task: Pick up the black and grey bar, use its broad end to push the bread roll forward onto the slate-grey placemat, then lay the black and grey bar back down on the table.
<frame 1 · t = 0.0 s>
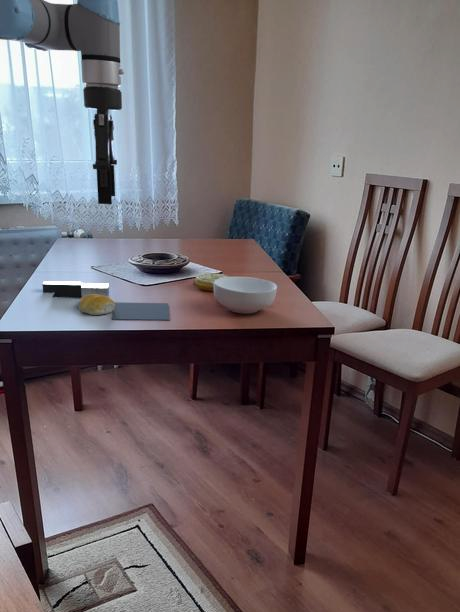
hand: (107, 199, 120), 28 cm above the table, tool pointing down, fingers open, 13 cm apart
placemat: (141, 311, 142), on the table
bread roll: (97, 311, 140), on the table, touching placemat
cereal bowl: (243, 310, 148), on the table
black and grey bar: (67, 295, 150), on the table
decorated donut: (213, 288, 166), on the table
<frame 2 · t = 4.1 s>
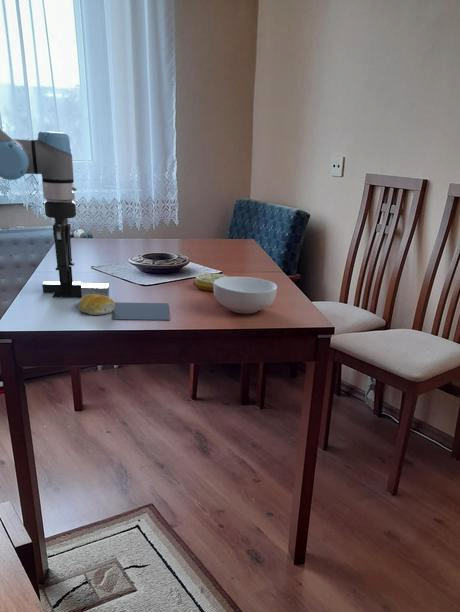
hand: (67, 292, 150), 1 cm above the table, tool pointing down, fingers closed on black and grey bar, 3 cm apart
black and grey bar: (67, 295, 150), on the table, touching gripper
everything else where it was.
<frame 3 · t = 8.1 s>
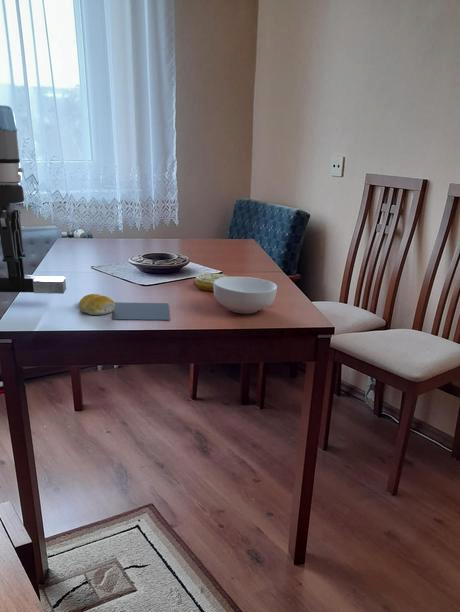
hand: (17, 286, 135), 6 cm above the table, tool pointing down, fingers closed on black and grey bar, 3 cm apart
black and grey bar: (18, 290, 135), point 5 cm above the table, touching gripper
everything else where it was.
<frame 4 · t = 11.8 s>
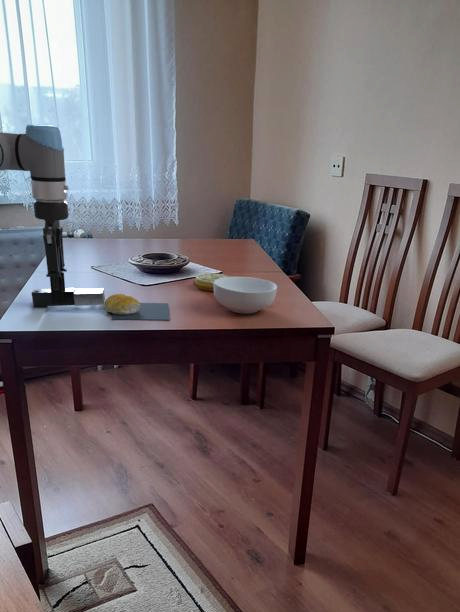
hand: (59, 300, 137), 3 cm above the table, tool pointing down, fingers closed on black and grey bar, 3 cm apart
bread roll: (122, 311, 141), resting on placemat, touching black and grey bar
black and grey bar: (59, 304, 138), point 2 cm above the table, touching bread roll, gripper
everything else where it was.
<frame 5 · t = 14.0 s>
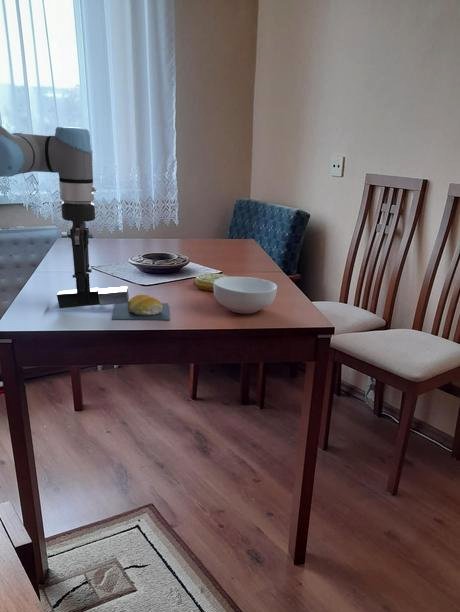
hand: (84, 301, 138), 3 cm above the table, tool pointing down, fingers closed on black and grey bar, 3 cm apart
bread roll: (145, 312, 141), resting on placemat, touching black and grey bar
black and grey bar: (84, 304, 139), point 2 cm above the table, tilted 6°, touching bread roll, gripper
everything else where it was.
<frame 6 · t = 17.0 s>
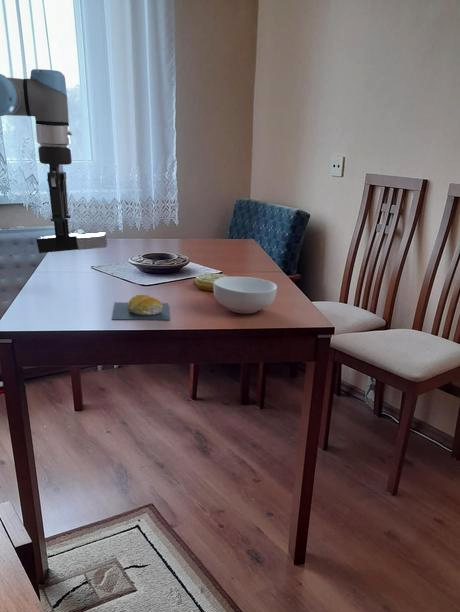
hand: (63, 246, 142), 14 cm above the table, tool pointing down, fingers closed on black and grey bar, 3 cm apart
bread roll: (145, 312, 141), resting on placemat
black and grey bar: (63, 249, 143), point 13 cm above the table, tilted 7°, touching gripper
everything else where it was.
when the fingers open (1 cm above the table, at t = 19.5 s): black and grey bar stays where it is, on the table.
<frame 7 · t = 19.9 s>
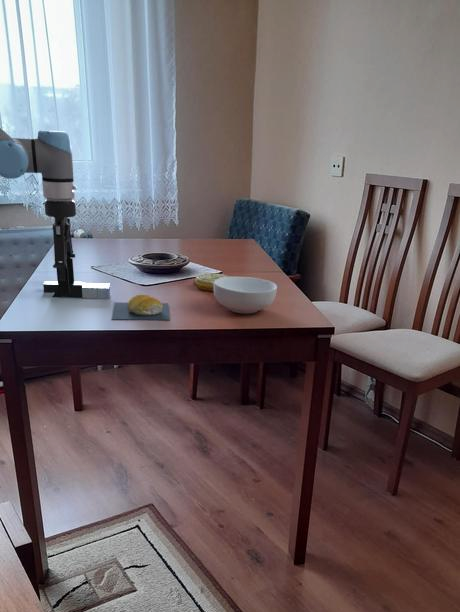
hand: (66, 287, 149), 2 cm above the table, tool pointing down, fingers open, 10 cm apart
black and grey bar: (68, 295, 150), on the table
everything else where it was.
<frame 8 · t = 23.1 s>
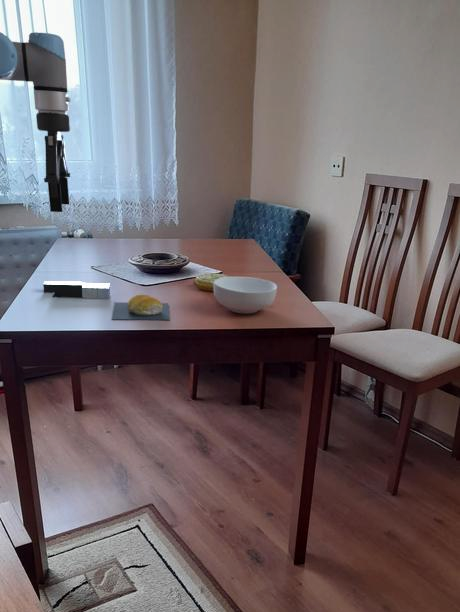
hand: (60, 207, 140), 23 cm above the table, tool pointing down, fingers open, 13 cm apart
nothing on the table moved.
at the end: bread roll inside the target area on the placemat (1.1 cm from its centre), point 0.0 cm above the placemat's base; black and grey bar on the table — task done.
